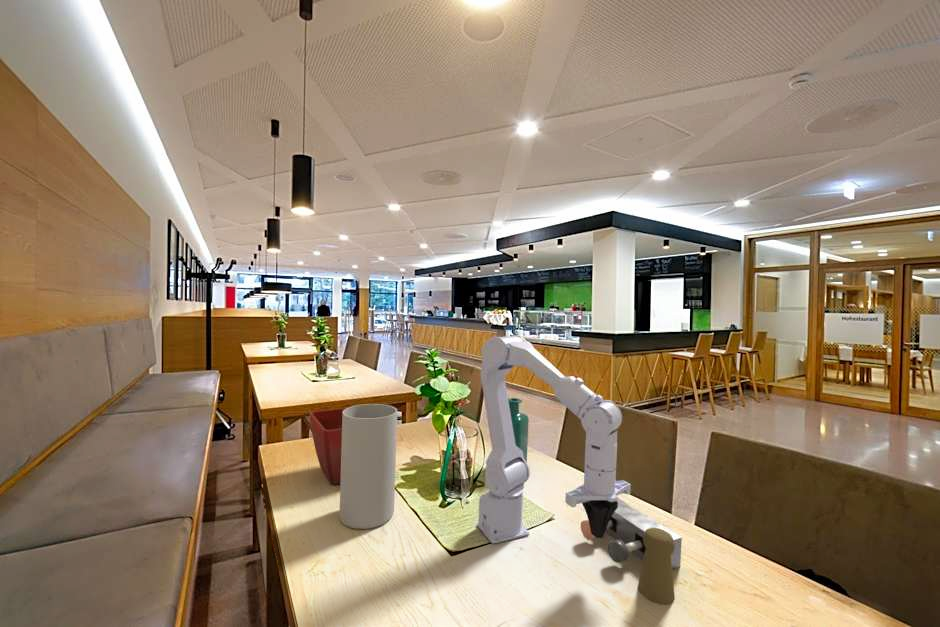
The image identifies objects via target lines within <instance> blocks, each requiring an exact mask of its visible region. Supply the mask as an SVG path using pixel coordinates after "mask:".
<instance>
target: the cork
mask: <svg viewBox="0 0 940 627" xmlns="http://www.w3.org/2000/svg"><path fill="white" fill-rule="evenodd" d="M643 543H644V546H645V547H646V549H645V554H644V558H643V560H642V565H641V570H640V574H639V580H638V584H637V588H638V591H639V592H640V594H641V595H642V596H643V597H644V598H646V599H647V600H649V601H650V602H652V603H656V604H659V605H670V604H672V603H674V601H675V599H676V598H675V588H674V576H673V575H674V574H673V570H672V563H671V554H673V551H674V549H675V544H674V540H673V538H672V536H671V535H670V534H669V533H668V532H666V531H664V530H662V529H659V528H649V529H647V530H646V531H645V532H644V534H643Z"/></svg>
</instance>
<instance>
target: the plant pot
mask: <svg viewBox="0 0 940 627" xmlns="http://www.w3.org/2000/svg"><path fill="white" fill-rule="evenodd" d="M346 408H347V407H342V408H335V409H334V408H333V409H324V410H315V411H310V412H309V422H310V429H311V435H312V440H313V446H314V449H315V453H316V458H317V461H318V463H319V464H318V465H319V466H320V470H321V471H322V473H323V474H324V476H325V477H326V479H327V481H328V482H329V484H330V485H332V486H337V485H340V482H341V448H342V413H343V410H345V409H346Z"/></svg>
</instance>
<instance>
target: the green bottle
mask: <svg viewBox="0 0 940 627" xmlns="http://www.w3.org/2000/svg"><path fill="white" fill-rule="evenodd" d="M508 402H509V408H510V414H511V420H512V426H513V432H514V438H515V444H516V446H517V447H518V448H519V449H520V450H522V451H523V456H524V459H525V461H526V463H527V464H528V444H529V440H528V439H529V423H530V422H529V417H528V415H527V414H525V413H523V412H520V404H521V403H523V400H522V399H520V398H517V397H508Z"/></svg>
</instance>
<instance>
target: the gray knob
mask: <svg viewBox="0 0 940 627" xmlns="http://www.w3.org/2000/svg"><path fill="white" fill-rule="evenodd" d="M606 546H607V548H606V549H607V553H608V555H609V557H610V558H611V560H612V561H613V562H615V563H617V564H618V563H621V562H624V561H627V560H628V559H629V555H630V552H631V551H634V550H637V549H640V548H642V543H641V541H639V540H638V541H634V542H631V543H628V544H625V543H624V542H623V541H621V540H615V539H614V540H612V541H609V542H608V543H607V545H606Z"/></svg>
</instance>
